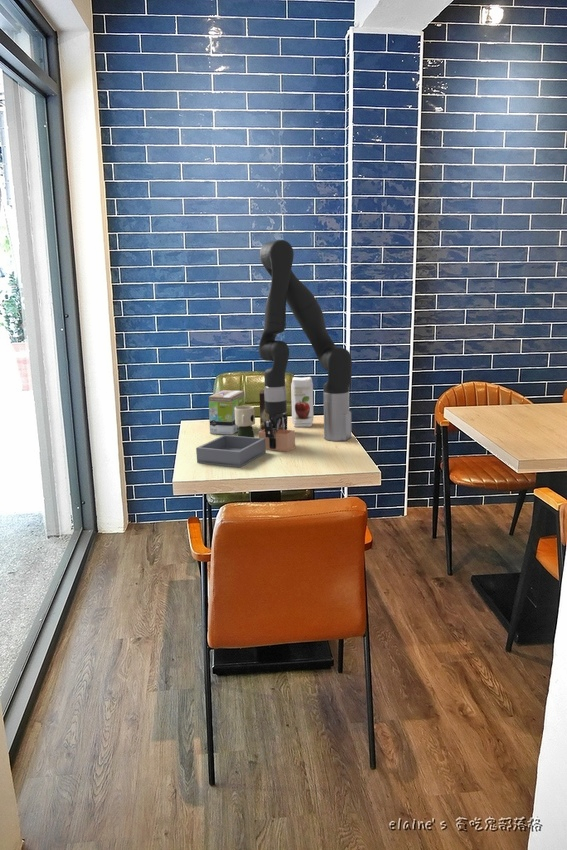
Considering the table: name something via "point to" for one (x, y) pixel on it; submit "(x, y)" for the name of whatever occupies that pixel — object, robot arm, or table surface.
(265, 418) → the coffee box
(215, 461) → the charcoal crate
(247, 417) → the character mug
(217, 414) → the tea box
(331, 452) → the table surface
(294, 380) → the juice carton
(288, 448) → the terracotta crate
